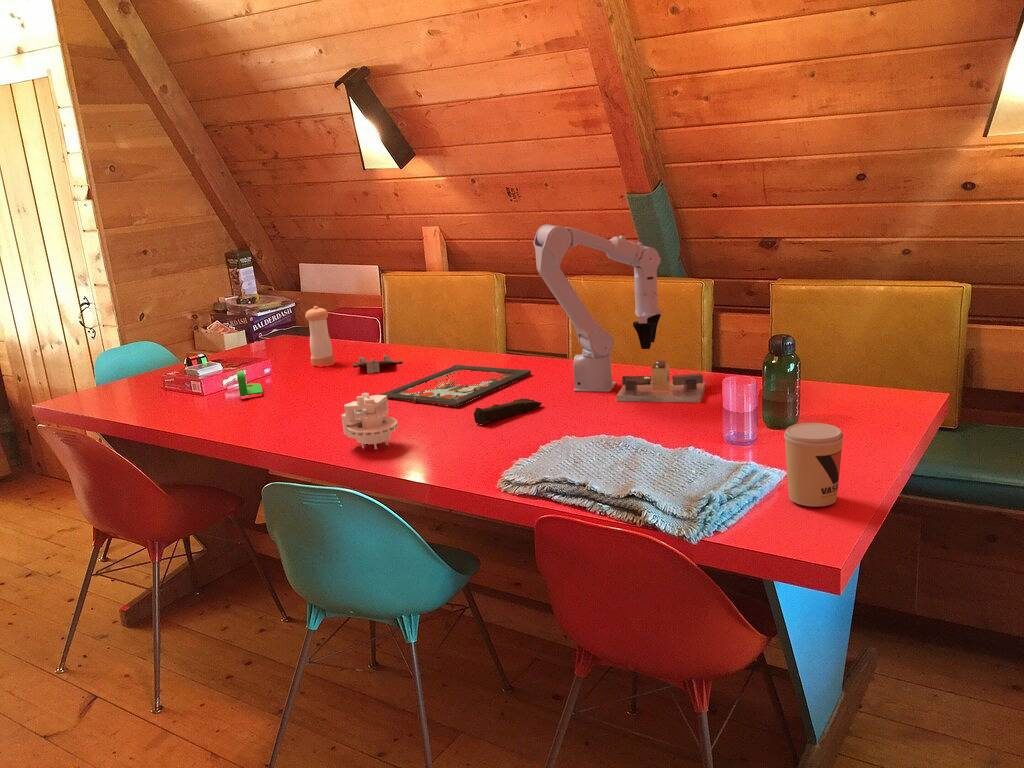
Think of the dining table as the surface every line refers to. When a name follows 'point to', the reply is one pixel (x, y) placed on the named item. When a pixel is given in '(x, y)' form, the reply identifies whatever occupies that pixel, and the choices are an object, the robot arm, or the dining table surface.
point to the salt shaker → (319, 337)
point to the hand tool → (504, 410)
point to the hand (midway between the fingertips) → (648, 345)
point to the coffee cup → (813, 463)
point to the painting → (454, 393)
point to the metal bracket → (374, 363)
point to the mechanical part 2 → (368, 420)
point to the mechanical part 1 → (243, 386)
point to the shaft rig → (679, 390)
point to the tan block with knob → (660, 376)
